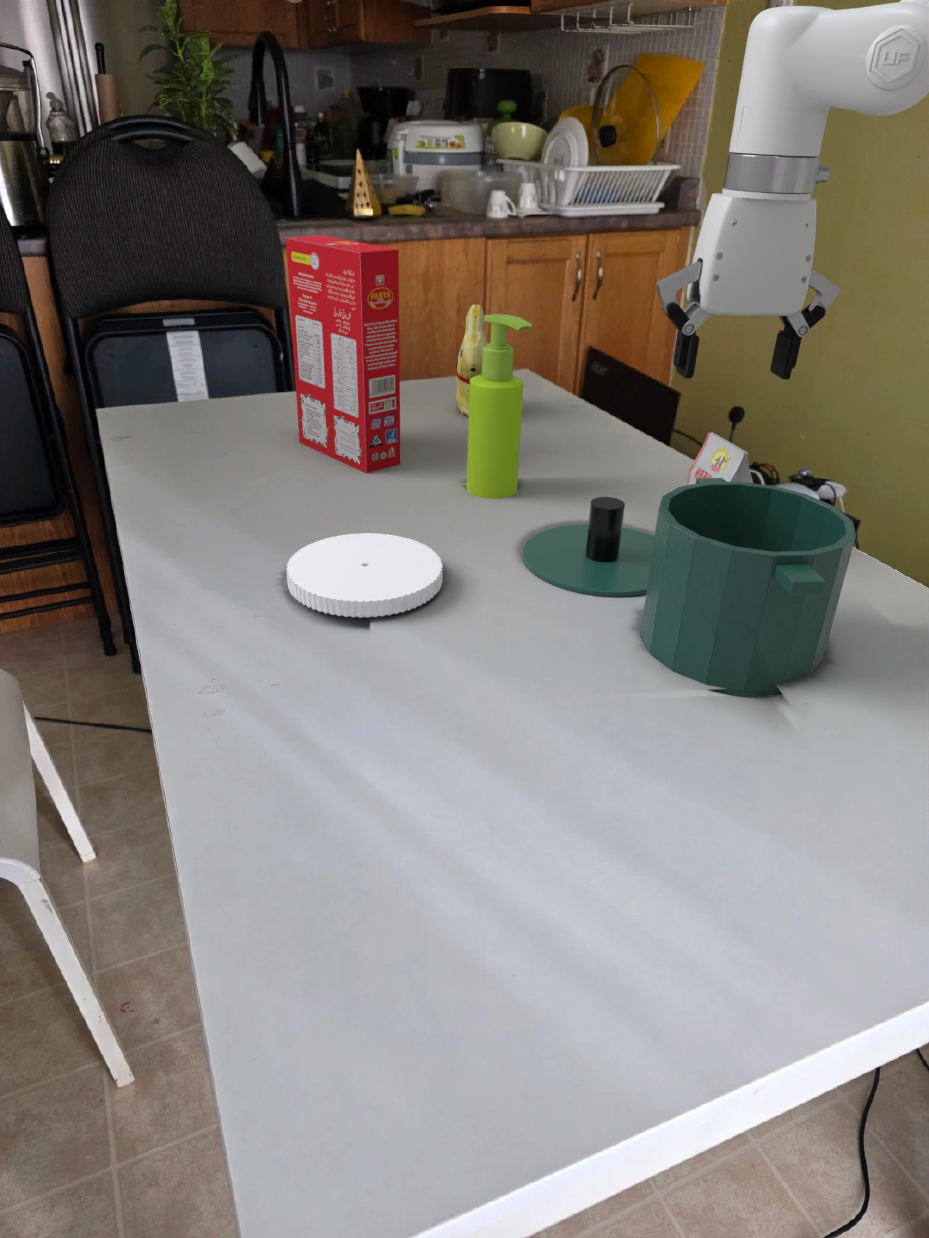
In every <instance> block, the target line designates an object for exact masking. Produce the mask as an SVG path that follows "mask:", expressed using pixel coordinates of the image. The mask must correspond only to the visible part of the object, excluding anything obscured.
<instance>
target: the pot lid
mask: <svg viewBox="0 0 929 1238" xmlns="http://www.w3.org/2000/svg"><path fill="white" fill-rule="evenodd" d="M625 507H626V504H625V502H624V501H623V500H621V499H619V498H617V497H612V496H597V497H595V498H592V500H591V501H590V507H589V516H588V523H579V524H575V523H574V524H566V525H560V526H556V527H551V528H548V529H545V530H542V531H540V532H538V533H536V534H534V535H533V536H531V537H530V538H528V540H527V541H526V543H525V544H524V546H523V551H522V558H523V559H522V560H523V562H524V564H525V566H526V567H527V569H528V570H529V571H530V572H531V573H532V574H534V575H535V576H536V577H538V578H539V579H541V580H542V581H545V582H546V583H548V584H550V585H553V586H555V587H558V588H560V589H562V590H563V589H564V590H566V591H570V592H574V593H579V594H584V595H588V596H589V595H590V596H596V597H597V596H598V597H610V598H611V597H613V598H619V597H620V598H621V597H635V596H643V595H646V592H647V586H648V579H649V572H650V565H651V558H652V552H653V545H654V538H655V536H652V535H651V534H648V533H645V532H642V531H640V530H636V529H631V528H627V527H623V525H624V516H625Z"/></svg>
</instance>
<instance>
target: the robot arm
mask: <svg viewBox="0 0 929 1238" xmlns="http://www.w3.org/2000/svg"><path fill="white" fill-rule="evenodd" d="M928 94H929V0H900V1H898V2H889V3H882V4H877V5H870V6H861V7H854V8H843V9H832V8H829V7H822V6H815V5H813V6H812V5H784V6H776V7H771V8H767V9H764V10H762V11H761V12H759V13H758V14H757V15H756V16H755V17H754V18H753V20H752V22H751V23H750V26H749V29H748V34H747V38H746V45H745V51H744V57H743V62H742V69H741V75H740V80H739V87H738V94H737V100H736V105H735V112H734V118H733V125H732V131H731V136H730V142H729V149H728V152H729V153H727V161H726V167H725V172H724V180H723V185H722V189H721V192H715V193H714V192H713V193H712V194H711V197H710V199H709V202H708V205H707V208H706V211H705V213H704V217H703V220H702V224H701V228H700V230H699V234H698V237H697V241H696V246H695V251H694V254H693V258H692V263H691V264H689V265H688V266H686V267H683V268H682V269H680V270H677V271H676V272H673V273H672V274H670V275H668V276H666V277H664V278H662V279H660V280H658V281H657V282H656V284H655V290H656V293H657V295H658V298H659V301H660V304H661V307H662V311H663V313H664V314H665V316H666V317H667V319H669V321H670V322H671V323H672V324H673V327H674V328H675V329H676V330H677V331H676V332H677V333H676V339H675V346H674V352H673V360H672V363H673V366H674V367H675V371H676V373H677V374H679V375H680V376H681V377H682V378H683V379H692V378H694V375H695V370H696V363H697V357H698V353H699V352H698V351H699V345H700V337H699V335H697V330H698V329H700V327H701V326H702V325H703V324H704V323H705V322H706V321H707V320H708V319H709V318H710V317H711V316H712V315H716V316H739V317H740V316H741V317H742V316H747V317H778V318H779V320H780V321H781V323H782V325H783V329H782V330H781V329H779V331H778V333H777V335H776V340H775V344H774V347H773V348H774V349H773V354H772V358H771V363H770V369H769V370H770V372H771V373H772V374H773V375H775V376H776V377H778V378H780V379H781V380H790V379H791V376H792V371H793V369H795V368H796V366H797V362H798V356H799V352H800V348H801V344H802V338H805V337H806V336H808V335H809V333H810V330H811V329H812V328H813V327H814V326H815V325H816V324H818V323H819V322H820V321H821V320H822V319H823V318H824V317H825V315H826V313H827V312H826V311H827V310H828V309H829V308H830V307H831V306H832V304H833V303H834V301H835V300H836V299H837V297H838V296H839V294H840V292H841V291H840V289H841V288H840V287H839V286H838V285H837V284H835V283H834V282H832V281H831V280H829V279H828V278H827V277H825V276H824V275H822V274H821V273H819V272H818V271H816V270H815V269H814V268H813V261H814V254H815V245H816V235H817V233H816V232H817V199H816V198H814V197H813V198H812V197H811V196H812V192H814V191H815V187H816V185H819V184H826V183H827V182H828V180H829V179H830V178H829V177H830V174H831V168H830V166H828V165H827V166H826V165H822V164H821V158H820V154H821V149H822V144H823V139H824V134H825V129H826V124H827V120H828V116H829V111H830V108H835V109H842V110H848V111H852V112H857V113H858V114H860V115H863V116H867V117H885V116H887V117H888V116H891V115H896V114H898V113H902V112H904V111H906V110H908V109H909V108H912V107H913V106H915V105H916V104H918V103H919V102H920V101H922V100H923V99H924V98H925V97H926V96H927V95H928ZM685 287H687V289H686V299H687V301H688V302H689V304H688V305H687V306H686V307H685V308H684V309H683V308H682V307H681V306H680V305H679V302H678V298H677V293H678V291H680V290H681V289H682V288H685ZM809 287H810V288H811V289H812V290H814V292H815V296H814V298H813V301H812V302H811V303H810V304H808V305H807V306H806V307H804V304H805V301H806V298H807V294H808V290H809ZM803 307H804V308H803ZM802 308H803V309H802Z"/></svg>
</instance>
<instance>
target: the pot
mask: <svg viewBox="0 0 929 1238" xmlns="http://www.w3.org/2000/svg"><path fill="white" fill-rule="evenodd" d="M659 503H660V504H659V507H658V512H657V517H656V518H657V519H656V524H655V530H654V537H655V538H654V545H653V552H652V558H651V565H650V572H649V579H648V586H647V592H646V594H645V600H644V607H643V614H642V620H641V628H640V634H639V636H640V639H641V641H642V642H643V644H644V646H645V648H646V650H647V652H648V654H649V655H651V656H652V657H653V658H654V659H656V660H657V661H658V662H659V663H661V664H662V665H663V666H665V667H666V668H668V669H669V670H670V671H671V672H673V673H675V674H678V675H680V676H683V677H686V678H688V679H691V680H693V681H696V682H698V683H700V684H703V685H706V686H709V687H710V686H711V687H716V688H711V689H705V690H706V691H709V692H714V693H717V694H722V695H728V696H736V697H747V698H765V697H775V696H780V695H783V692H782V691H781V690H780V688H779V687H778V686H777V684H784V683H788V682H791V681H795V680H796V679H800V678H802V677H805V676H808V675H810V674H811V673H812V672H813V671H814V670H815V669H816V668H817V667H818V666H819V665H820V663H821V662H822V661H823V659H824V656H825V652H826V649H827V645H828V642H829V637H830V633H831V630H832V627H833V622H834V619H835V616H836V612H837V607H838V604H839V600H840V598H841V594H842V590H843V585H844V581H845V578H846V574H847V570H848V567H849V565H850V564H849V563H850V560H851V556H852V553H853V549H854V544H855V541H856V537H857V535H856V530H855V525H854V520H852V519H851V518H850V517H848V516H847V515H846V514H845V513H843V512H842V511H841V510H840V509H839V508H837V507H836V506H835V505H833V504H830V503H828V502H826V501H823V500H820V499H818V498H816V497H813V496H811V495H810V494H808V493H803V492H799V491H796V490H792V489H788V488H784V487H780V486H776V485H771V484H770V485H769V484H761V483H754V482H753V483H746V482H726V481H725V480H724V479H723V478H696V484H692V485H687V484H686V485H681V486H678V487H676V488H674V489H673V490H671V491H670V492H668V493H666V494H664V495H662V497H661V500H660V502H659Z"/></svg>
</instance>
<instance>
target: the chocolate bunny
mask: <svg viewBox="0 0 929 1238" xmlns="http://www.w3.org/2000/svg"><path fill="white" fill-rule="evenodd" d="M484 316H485V313H484V309H483V307H482V306H481V305H480V304H474V303H473V304H472V305H471V306H470V307H469V309H468V311H467V314H466V317H465V332H464V335H463V339H462V343H461V346H460V349H459V352H458V357H457V359H456V362H455V375H456V394H455V399H456V402H457V407H458V409H459V410H460V413H462V414H463V415H465V416H466V417H468V418H469V393H470V379H471V378H472V377H475V376H478V375H482V350H483V347H484V346H486V345H487V344H488V342H487V336H486V335H487V334H486V321H484Z"/></svg>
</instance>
